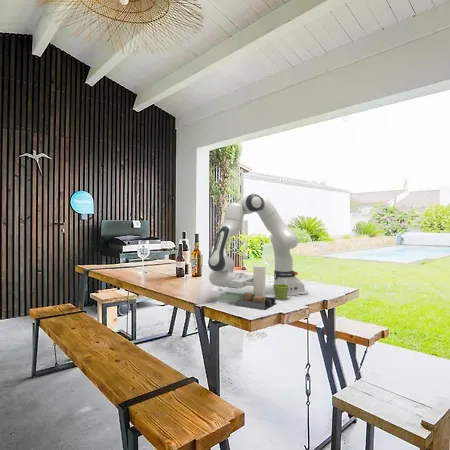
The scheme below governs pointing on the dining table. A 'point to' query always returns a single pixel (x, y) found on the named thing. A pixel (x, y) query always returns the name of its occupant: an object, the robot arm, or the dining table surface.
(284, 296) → the plant pot
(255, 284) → the panel
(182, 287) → the dining table surface
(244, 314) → the dining table surface
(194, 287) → the dining table surface
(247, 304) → the rack
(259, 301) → the offcut
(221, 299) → the holder
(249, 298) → the offcut
